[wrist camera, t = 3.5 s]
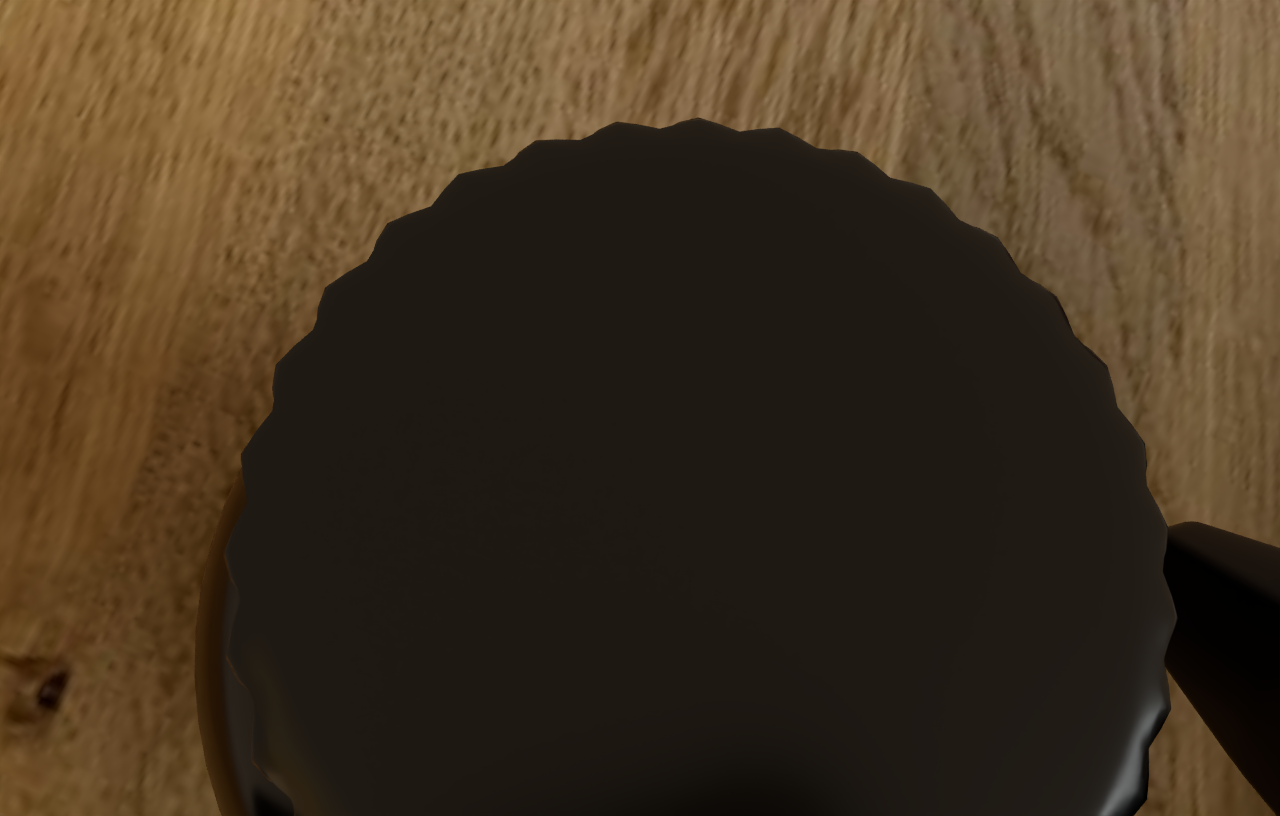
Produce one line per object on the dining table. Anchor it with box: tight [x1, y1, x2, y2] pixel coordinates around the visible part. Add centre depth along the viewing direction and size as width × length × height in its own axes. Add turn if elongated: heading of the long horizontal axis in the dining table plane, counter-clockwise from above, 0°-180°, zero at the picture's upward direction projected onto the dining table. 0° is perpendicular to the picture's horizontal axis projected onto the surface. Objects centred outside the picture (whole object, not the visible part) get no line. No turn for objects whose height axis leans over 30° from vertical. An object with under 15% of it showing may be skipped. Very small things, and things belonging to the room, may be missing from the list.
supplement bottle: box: [195, 118, 1178, 816], centre depth 11 cm, size 7×7×12 cm
